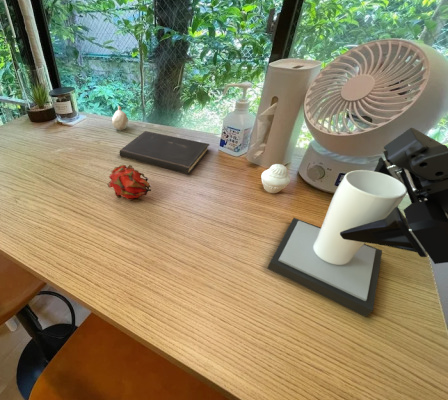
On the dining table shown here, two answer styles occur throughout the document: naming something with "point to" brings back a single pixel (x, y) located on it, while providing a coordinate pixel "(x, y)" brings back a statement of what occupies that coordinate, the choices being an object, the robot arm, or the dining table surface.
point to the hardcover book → (165, 151)
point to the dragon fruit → (128, 183)
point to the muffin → (275, 178)
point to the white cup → (356, 212)
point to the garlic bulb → (120, 119)
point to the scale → (328, 269)
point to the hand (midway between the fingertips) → (339, 216)
